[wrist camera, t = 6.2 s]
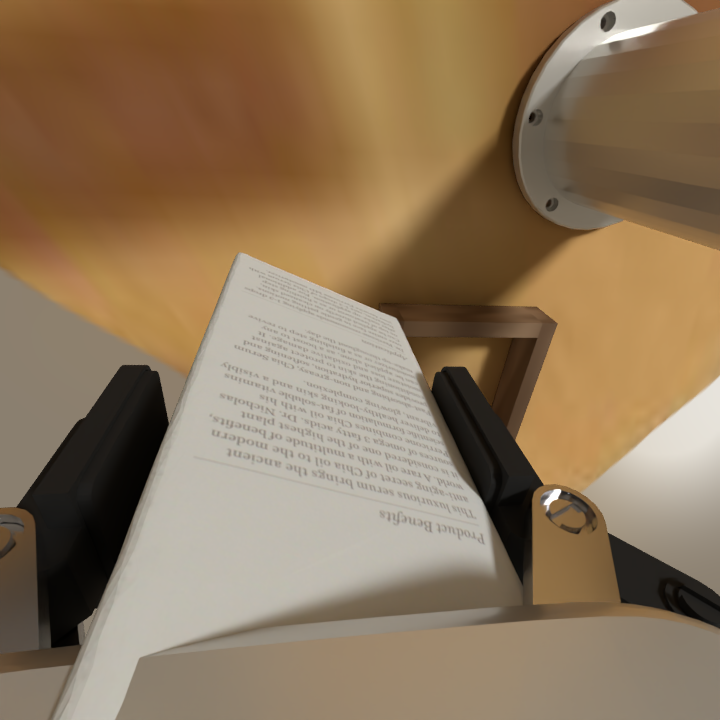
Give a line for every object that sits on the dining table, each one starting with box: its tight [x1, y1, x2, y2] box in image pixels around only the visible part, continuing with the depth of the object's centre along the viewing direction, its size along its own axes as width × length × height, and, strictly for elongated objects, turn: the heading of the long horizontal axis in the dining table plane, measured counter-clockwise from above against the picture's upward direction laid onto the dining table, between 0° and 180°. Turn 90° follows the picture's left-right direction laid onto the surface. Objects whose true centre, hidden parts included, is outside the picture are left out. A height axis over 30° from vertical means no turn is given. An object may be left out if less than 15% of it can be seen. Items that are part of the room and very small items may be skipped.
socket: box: [379, 304, 558, 440], centre depth 33 cm, size 13×13×3 cm
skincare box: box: [51, 253, 523, 720], centre depth 10 cm, size 6×4×12 cm
